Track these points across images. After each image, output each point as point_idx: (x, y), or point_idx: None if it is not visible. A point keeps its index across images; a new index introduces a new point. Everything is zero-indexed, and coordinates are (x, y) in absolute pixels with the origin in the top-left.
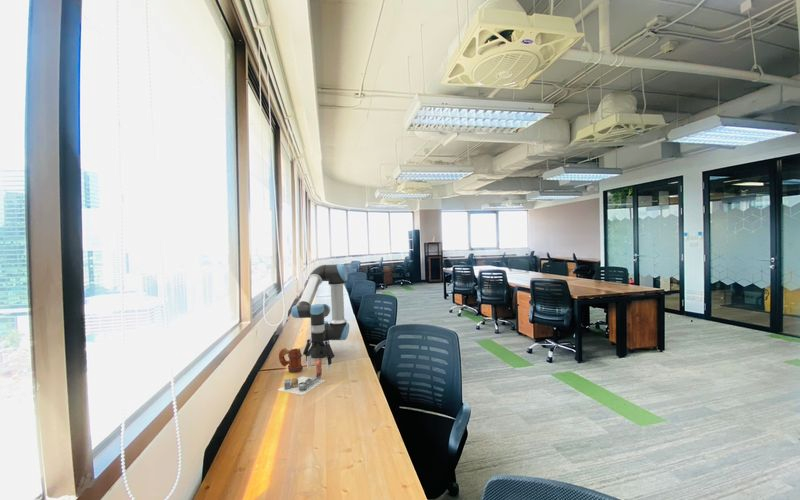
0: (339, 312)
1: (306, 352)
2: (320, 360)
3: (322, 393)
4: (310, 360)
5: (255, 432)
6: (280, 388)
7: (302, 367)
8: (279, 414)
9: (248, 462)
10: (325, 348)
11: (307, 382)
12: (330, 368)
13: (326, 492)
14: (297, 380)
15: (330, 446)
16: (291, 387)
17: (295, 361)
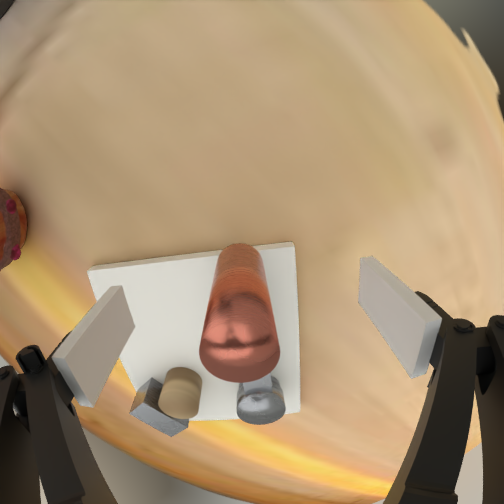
0: None
1: (20, 399)
2: (279, 355)
3: (365, 345)
4: (99, 331)
5: (308, 491)
6: None
7: (13, 205)
8: (305, 465)
9: (358, 497)
10: (447, 482)
11: (259, 380)
12: (376, 261)
13: (467, 452)
14: (197, 404)
15: None
16: None
17: None
